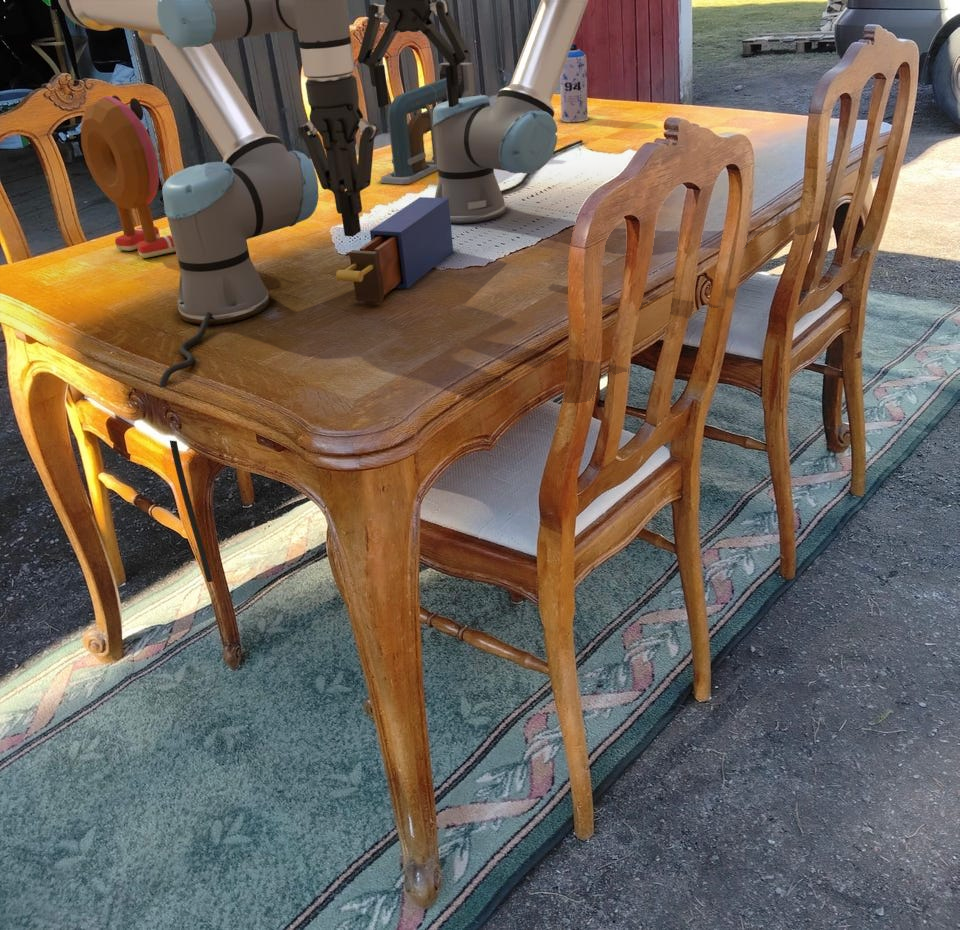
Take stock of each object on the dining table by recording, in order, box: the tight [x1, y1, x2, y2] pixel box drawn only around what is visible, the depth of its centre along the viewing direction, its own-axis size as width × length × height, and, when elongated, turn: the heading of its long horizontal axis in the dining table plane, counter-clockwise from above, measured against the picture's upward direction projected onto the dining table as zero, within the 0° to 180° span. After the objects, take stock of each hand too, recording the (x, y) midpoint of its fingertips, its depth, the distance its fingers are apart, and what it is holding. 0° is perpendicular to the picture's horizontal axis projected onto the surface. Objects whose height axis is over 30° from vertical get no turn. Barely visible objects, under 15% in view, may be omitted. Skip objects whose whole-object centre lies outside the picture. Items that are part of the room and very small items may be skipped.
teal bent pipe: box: [379, 62, 476, 185], centre depth 238 cm, size 35×9×21 cm, turn 151°
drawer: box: [335, 235, 403, 303], centre depth 165 cm, size 25×5×8 cm, turn 158°
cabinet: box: [369, 196, 454, 290], centre depth 174 cm, size 20×6×10 cm, turn 158°
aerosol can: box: [559, 43, 589, 123], centre depth 273 cm, size 8×8×20 cm
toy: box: [80, 94, 176, 259], centre depth 192 cm, size 21×10×30 cm, turn 47°
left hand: (352, 233), depth 154 cm, fingers closed
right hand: (418, 105), depth 169 cm, fingers open, 13 cm apart
